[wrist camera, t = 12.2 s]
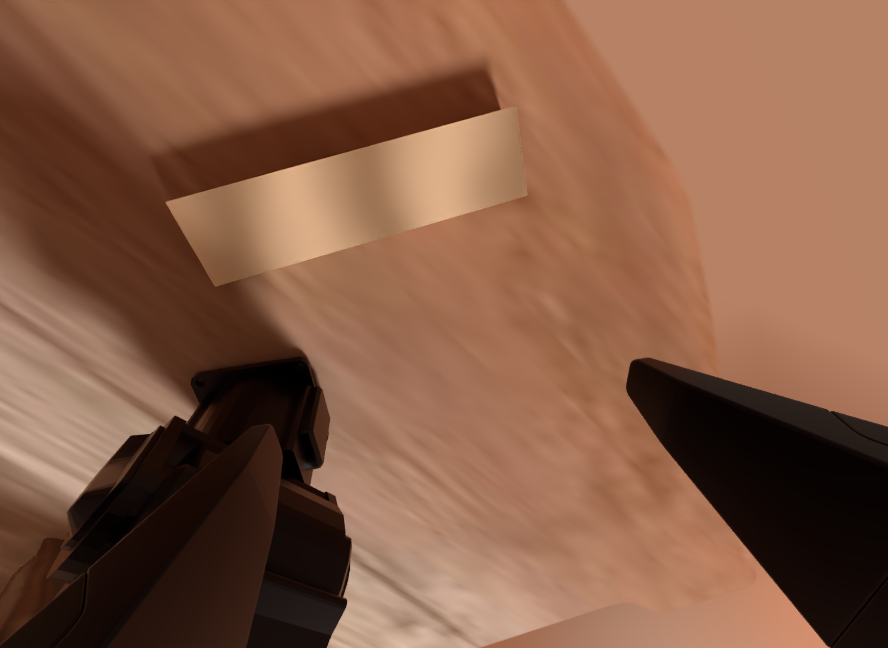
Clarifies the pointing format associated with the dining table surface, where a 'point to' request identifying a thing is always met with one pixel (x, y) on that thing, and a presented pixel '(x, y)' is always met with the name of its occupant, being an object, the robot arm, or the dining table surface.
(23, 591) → the brown paper bag
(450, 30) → the dining table surface
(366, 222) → the slat
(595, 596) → the dining table surface
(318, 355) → the dining table surface
